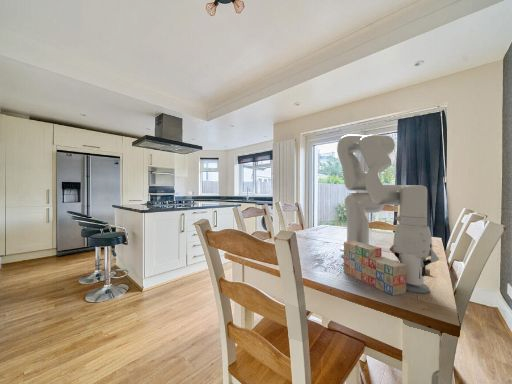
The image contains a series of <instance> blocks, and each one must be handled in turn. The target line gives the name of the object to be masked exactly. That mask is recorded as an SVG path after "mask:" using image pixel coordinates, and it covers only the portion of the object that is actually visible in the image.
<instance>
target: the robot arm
mask: <svg viewBox="0 0 512 384" xmlns="http://www.w3.org/2000/svg"><path fill="white" fill-rule="evenodd" d="M395 143H396V142H395V140H394V139H393V137H392V136H390V135H386V134H383V135H382V134H368V135H362V134H346V135H344V136H342V137H340V138H339V140H338V142H337V147H336V149H337V150H336V152H337V156H338V161H340V164H341V169H342V175H343V179H344V181H343V182H344V185H345V188H346V190H348V191H351V192H353V191H354V192H353V193H349V194H348V195H346V196H345V199H344V207H345V213H346V242H350V241H358V242H361V243H365V244H369V245H370V223H369V220H368V218H367V216H366V214H370V213H371V214H373V213H375V214H376V213H379V212H382V210H383V209H384V207H385V206H399V215H398V216H395V218H394V219H395V221H398V223H397V224H396V225H395V228H394V229H395V230H394V234H393V244H392V245H391V246H390V247H389V249H388V250H389V251H390V252H391V253H392V254H394V256H395V257H396V258H397V261H399V262H400V263H402V262H401V254H404V253H408V254H413V255H415V257H417V258H421V267H422V276H424V277H425V276H426V275H425V268H426V266H428V265H430V264H432V263H436V262H437V261H439V260H440V258H439V257H438V255H437V254H436V252H435V251H434V250H433V240H432V234H431V230H430V226H428V188H427V186H426V185H425V186H424V185H419V184H418V185H417V184H413V185H412V184H411V185H410V184H408V185H407V184H406V185H404V184H398V185H397V184H383V183H382V181H381V179H380V177H379V174H380V173H383V172H384V171H386V170H387V169H388V168H390V166H391V165H392V159H391V157H390V154H391V153H392V152H393V151H394V150H395V147H396V144H395ZM354 153H355V154H356V153H358V154H361V155H362V157H363V160H364V161H365V164H366V165H367V167H368V170H367V171H363V170H362V165H361V162H360V160H359V158H358V157H357V156H356V155H355V154H354ZM339 251H341V252H343V253H344V246H341V247H340V249H339ZM429 257H430V258H429ZM342 258H343V259H344V254H343V255H342ZM423 258H425V261H423ZM427 258H428V259H427ZM419 279H420V272H419Z"/></svg>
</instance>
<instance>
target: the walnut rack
mask: <svg viewBox="0 0 512 384" xmlns="http://www.w3.org/2000/svg"><path fill="white" fill-rule="evenodd" d="M396 261H397V262H400V261H399V260H396ZM429 275H431V269H430V268H426V267H425V276H429Z"/></svg>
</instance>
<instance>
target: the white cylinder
mask: <svg viewBox="0 0 512 384" xmlns="http://www.w3.org/2000/svg"><path fill="white" fill-rule="evenodd" d="M423 261H425V258H423ZM401 262H402V263H403V264H406V265H407V273H406V283H409V284H413V285H423V284H424V279H425V278H424V277H425V276H422V267H421V258H417V257H415V255H413V254H408V253H404V254H401ZM419 272H420V279H419Z"/></svg>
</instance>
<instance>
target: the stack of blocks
mask: <svg viewBox="0 0 512 384" xmlns="http://www.w3.org/2000/svg"><path fill="white" fill-rule="evenodd" d="M343 247H344V252H343V255H344V258H343V272H345V273H346V274H348V275H349V276H352V277H354V278H356V279H358V280H360V281H362V282H365V284H368V285H371V286H373V287H374V288H376V289H379V290H380V291H382V292H384V293H386V294H389V295H390V296H397V295H402V294H406V293H407V291H406V273H407V265H406V264H403V263H400V261H399V262H397V261H398V260H395V259H391V258H388V257H385V256H382V247H379V246H375V245H372V244H370V243H369V244H365V243H361V242H358V241H350V242H347V241H344V242H343Z"/></svg>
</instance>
